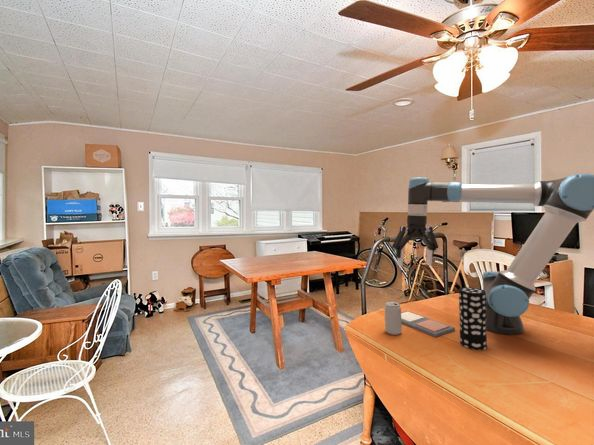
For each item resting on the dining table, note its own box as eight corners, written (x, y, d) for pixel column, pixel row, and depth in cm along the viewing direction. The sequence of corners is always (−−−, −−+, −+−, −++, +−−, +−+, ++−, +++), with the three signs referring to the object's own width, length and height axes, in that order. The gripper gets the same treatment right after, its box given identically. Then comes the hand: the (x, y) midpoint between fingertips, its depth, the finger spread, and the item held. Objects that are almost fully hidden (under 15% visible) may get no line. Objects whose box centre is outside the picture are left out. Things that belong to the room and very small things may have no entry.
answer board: (454, 330, 117) (454, 326, 117) (435, 337, 111) (435, 333, 111) (407, 313, 138) (407, 310, 138) (389, 318, 132) (389, 315, 132)
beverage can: (402, 336, 114) (402, 306, 113) (386, 335, 115) (385, 306, 114) (400, 329, 120) (399, 301, 119) (384, 328, 121) (383, 301, 121)
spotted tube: (478, 352, 99) (476, 295, 98) (455, 342, 106) (453, 289, 105) (491, 346, 102) (490, 291, 102) (468, 337, 110) (467, 286, 109)
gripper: (437, 215, 125) (434, 262, 126) (385, 214, 120) (383, 263, 121) (449, 215, 118) (446, 266, 119) (394, 215, 113) (392, 267, 114)
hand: (414, 265), depth 120 cm, fingers open, 13 cm apart
